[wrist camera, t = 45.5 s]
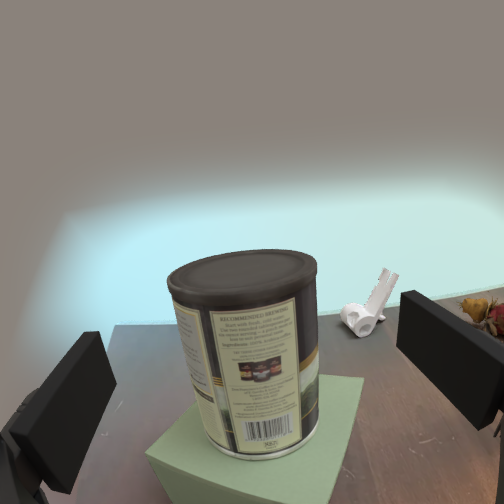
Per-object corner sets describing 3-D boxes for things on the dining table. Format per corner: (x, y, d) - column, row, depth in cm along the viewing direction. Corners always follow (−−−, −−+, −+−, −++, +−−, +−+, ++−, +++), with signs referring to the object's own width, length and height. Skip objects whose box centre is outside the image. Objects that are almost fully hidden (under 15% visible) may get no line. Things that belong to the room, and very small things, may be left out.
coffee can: (272, 373, 31) (258, 243, 28) (344, 418, 23) (348, 259, 20) (184, 412, 26) (148, 270, 23) (243, 482, 18) (206, 308, 14)
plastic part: (340, 323, 63) (338, 271, 61) (380, 314, 64) (381, 263, 62) (354, 339, 56) (355, 281, 53) (397, 327, 57) (400, 272, 54)
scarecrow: (502, 311, 52) (507, 278, 50) (539, 343, 36) (549, 304, 35) (443, 321, 55) (447, 285, 54) (474, 360, 40) (483, 318, 38)
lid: (363, 383, 28) (364, 377, 28) (323, 515, 14) (324, 510, 14) (233, 367, 35) (232, 361, 35) (146, 458, 21) (144, 452, 21)
